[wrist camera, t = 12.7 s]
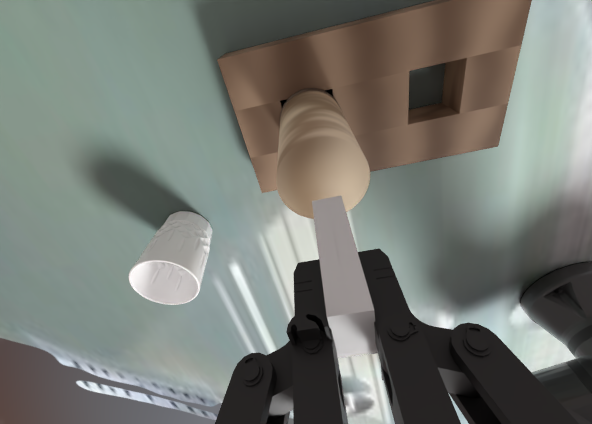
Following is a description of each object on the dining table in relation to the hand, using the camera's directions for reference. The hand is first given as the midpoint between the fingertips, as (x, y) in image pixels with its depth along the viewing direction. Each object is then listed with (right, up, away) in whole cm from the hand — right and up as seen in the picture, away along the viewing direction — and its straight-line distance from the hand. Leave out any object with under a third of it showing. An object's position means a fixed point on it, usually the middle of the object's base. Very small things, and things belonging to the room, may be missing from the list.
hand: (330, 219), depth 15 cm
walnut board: (+5, +13, +15) cm, 21 cm away
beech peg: (0, +12, +16) cm, 20 cm away
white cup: (-17, -2, +26) cm, 31 cm away
